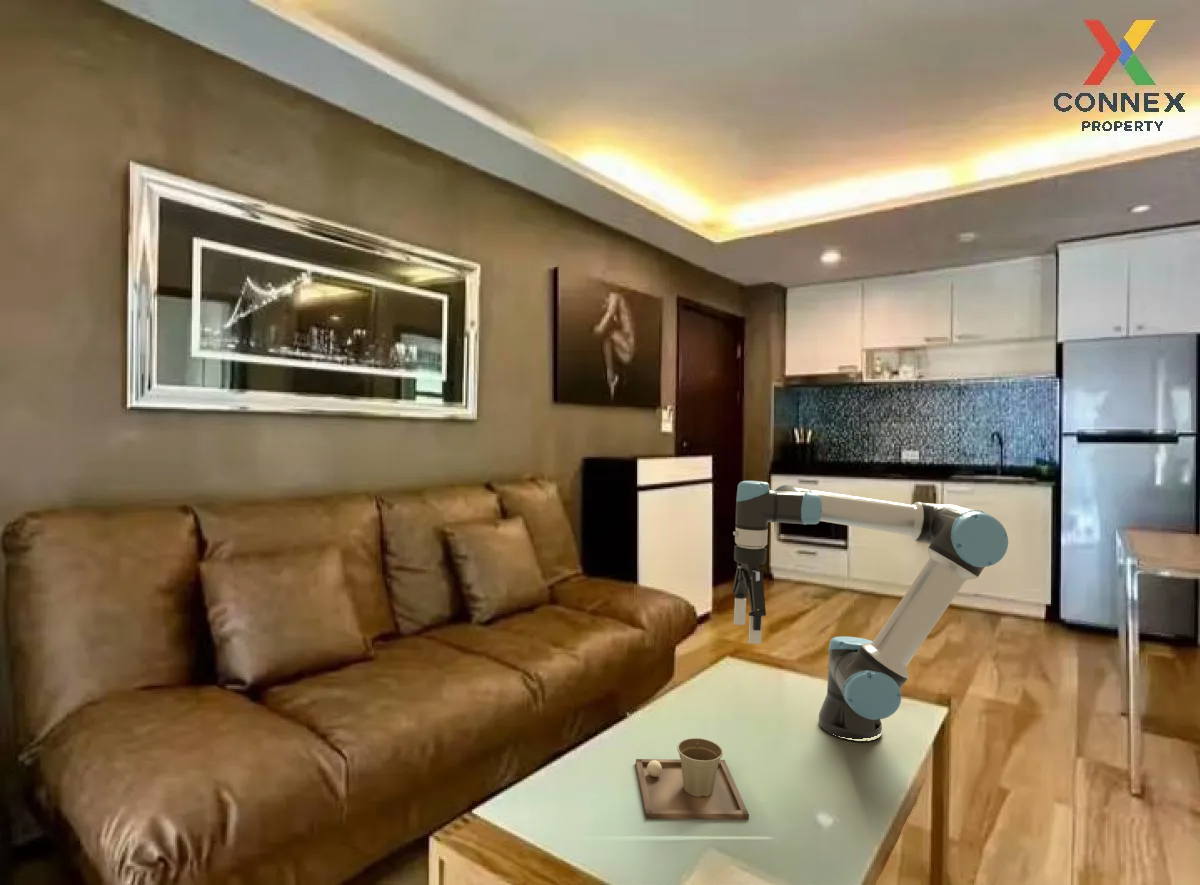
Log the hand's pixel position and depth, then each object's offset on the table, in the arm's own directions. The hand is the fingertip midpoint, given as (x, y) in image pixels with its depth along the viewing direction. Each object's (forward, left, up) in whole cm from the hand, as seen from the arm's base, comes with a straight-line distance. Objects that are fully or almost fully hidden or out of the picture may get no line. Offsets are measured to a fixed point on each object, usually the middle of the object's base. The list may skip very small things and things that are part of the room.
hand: (746, 633), depth 157 cm
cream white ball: (+24, +16, -26) cm, 39 cm away
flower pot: (+15, +21, -26) cm, 37 cm away
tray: (+17, +21, -27) cm, 38 cm away
